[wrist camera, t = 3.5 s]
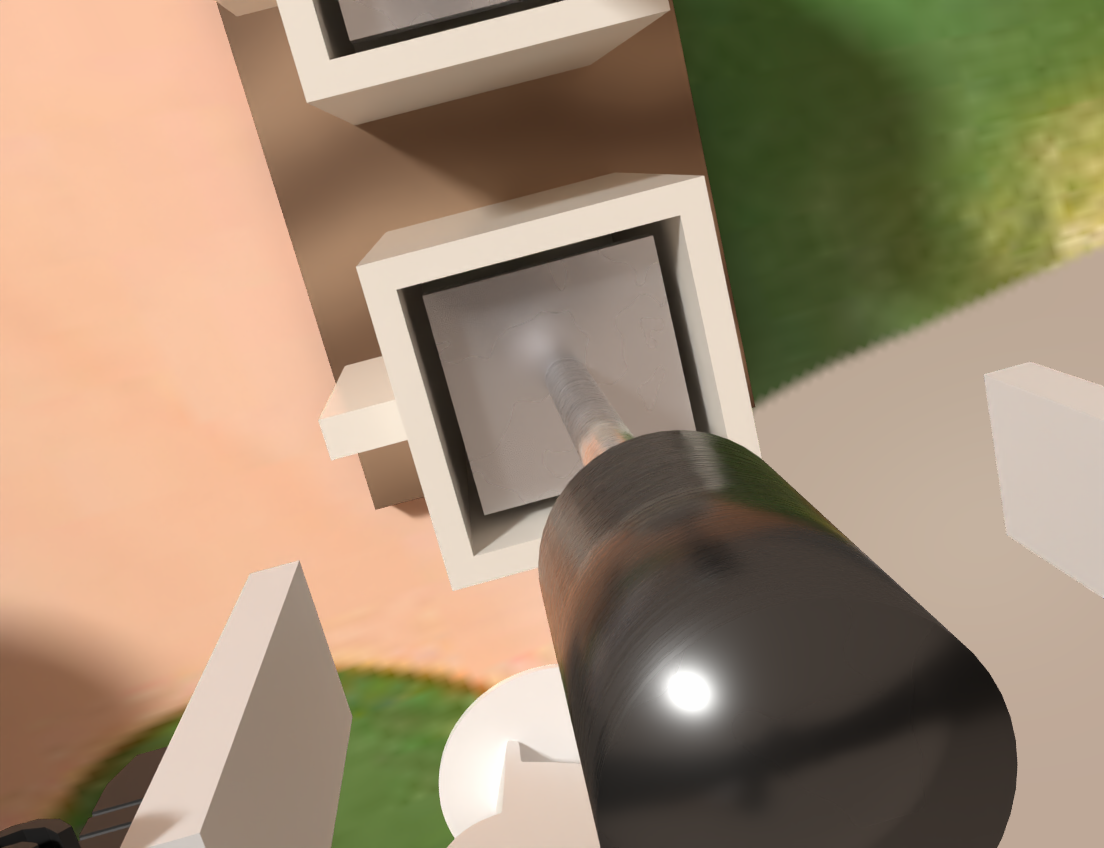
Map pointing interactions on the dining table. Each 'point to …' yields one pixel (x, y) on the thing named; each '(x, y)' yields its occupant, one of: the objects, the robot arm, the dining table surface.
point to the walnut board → (450, 169)
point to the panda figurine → (517, 769)
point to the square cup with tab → (499, 245)
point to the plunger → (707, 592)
